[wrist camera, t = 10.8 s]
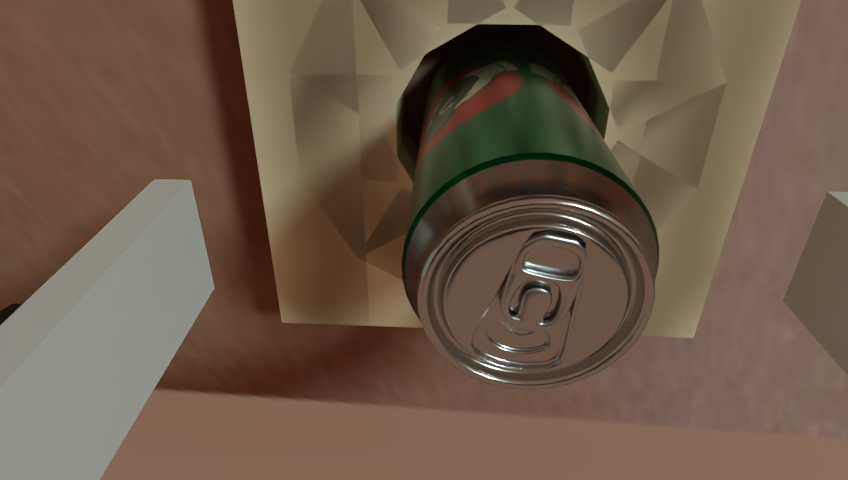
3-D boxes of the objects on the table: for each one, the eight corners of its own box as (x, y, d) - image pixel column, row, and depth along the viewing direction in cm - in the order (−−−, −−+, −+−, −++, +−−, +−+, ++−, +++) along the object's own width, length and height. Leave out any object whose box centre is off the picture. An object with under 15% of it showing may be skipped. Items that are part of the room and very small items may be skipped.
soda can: (413, 154, 22) (375, 378, 11) (443, 18, 19) (428, 148, 9) (540, 182, 22) (615, 424, 12) (586, 51, 20) (731, 214, 9)
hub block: (299, 279, 25) (280, 325, 22) (243, -164, 17) (202, -178, 14) (668, 292, 24) (695, 341, 22) (794, -163, 16) (862, -177, 14)
